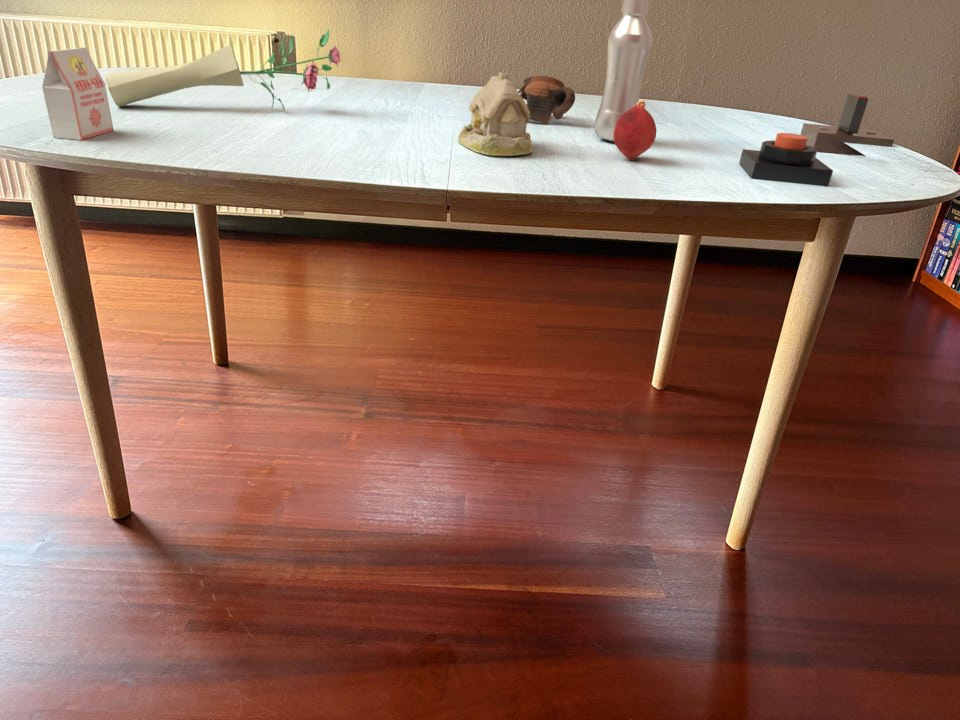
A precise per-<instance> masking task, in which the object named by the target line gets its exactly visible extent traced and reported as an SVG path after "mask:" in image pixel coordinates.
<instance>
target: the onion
mask: <svg viewBox="0 0 960 720" xmlns="http://www.w3.org/2000/svg"><path fill="white" fill-rule="evenodd" d="M646 105H647V103H646V102H645V101H644V100H639V102H638V103H637V104H636V105H635V106H634V107H633V108H631V109H629V110H628V111H626V112H625V113H624V114H623V115H622V116H621V117H620V118H619V120H618V121H617V123H616V125H615V128H614V135H613V139H614V142H613V143H614V145H615V147H616V148H617V150H618V151H619V152H620V153H621V154H622V155H623V156H624V157H625V158H626V159H627V160H628V161H634V160H636V159H638V157H639V156H641V155H642V154H644V153H646V152H647V151H648V150H649V149H651V147H652V146H653V145H654V144H655V140H656V137H657V124H656V122H655V119H654V118H653V116H652V115H651V113H650V112H649V111H648V110H647V109H646V107H645V106H646Z"/></svg>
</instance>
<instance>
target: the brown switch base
mask: <svg viewBox="0 0 960 720" xmlns="http://www.w3.org/2000/svg"><path fill="white" fill-rule="evenodd" d="M838 126H839V124H838V125H828V124H827V125H826V124H814V123H805V122H804V123H803V124H802V127H801V131H800V133H799V135H803V136H806V137H808V140H807V144H806V145H808V146H811V147H814V148H815V149H817V153H829V154H839V155H850V156H860V157H866V154H864V153H862V152H860V151H859V150H857V149H855V148H854V147H852V146H850V145H849V144H857V145H866V146H877V147H887V148H888V147H889V148H892V147H893V145H894V143H895V139H894V138H892V137H890V136H888V135H885V134H883V133H881V132H880V131H877V130H875V129H868V128H859V130H858V133H857V134H853V133H847V132H845V131H843V130H841V129H839V128H838Z"/></svg>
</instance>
